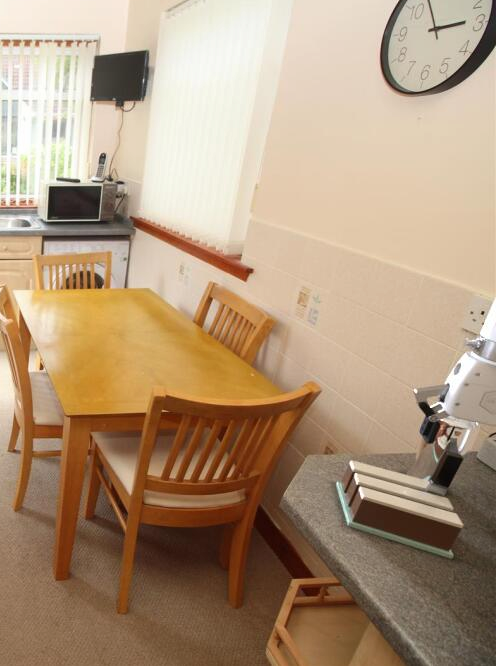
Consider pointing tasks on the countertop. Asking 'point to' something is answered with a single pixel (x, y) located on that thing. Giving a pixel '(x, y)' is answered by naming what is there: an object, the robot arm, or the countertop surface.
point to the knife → (444, 473)
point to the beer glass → (443, 446)
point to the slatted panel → (398, 508)
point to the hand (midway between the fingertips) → (464, 448)
